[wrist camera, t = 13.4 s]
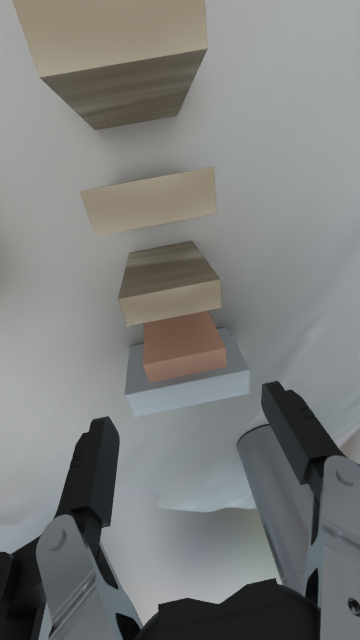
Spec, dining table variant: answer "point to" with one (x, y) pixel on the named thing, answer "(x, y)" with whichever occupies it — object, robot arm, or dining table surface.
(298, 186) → the dining table surface
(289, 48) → the dining table surface
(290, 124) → the dining table surface
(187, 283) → the domino
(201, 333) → the domino
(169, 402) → the end block
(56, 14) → the domino
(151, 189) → the domino
